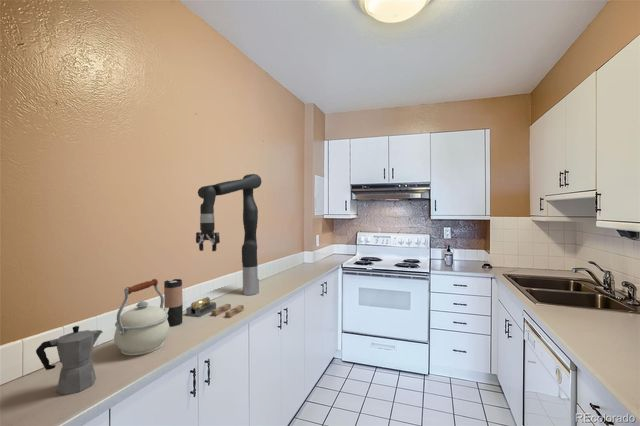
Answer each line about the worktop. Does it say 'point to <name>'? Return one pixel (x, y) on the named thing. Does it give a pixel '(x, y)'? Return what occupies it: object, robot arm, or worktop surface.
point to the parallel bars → (228, 313)
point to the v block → (201, 310)
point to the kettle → (141, 324)
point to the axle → (200, 303)
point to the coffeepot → (72, 359)
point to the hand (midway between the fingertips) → (207, 251)
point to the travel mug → (173, 301)
